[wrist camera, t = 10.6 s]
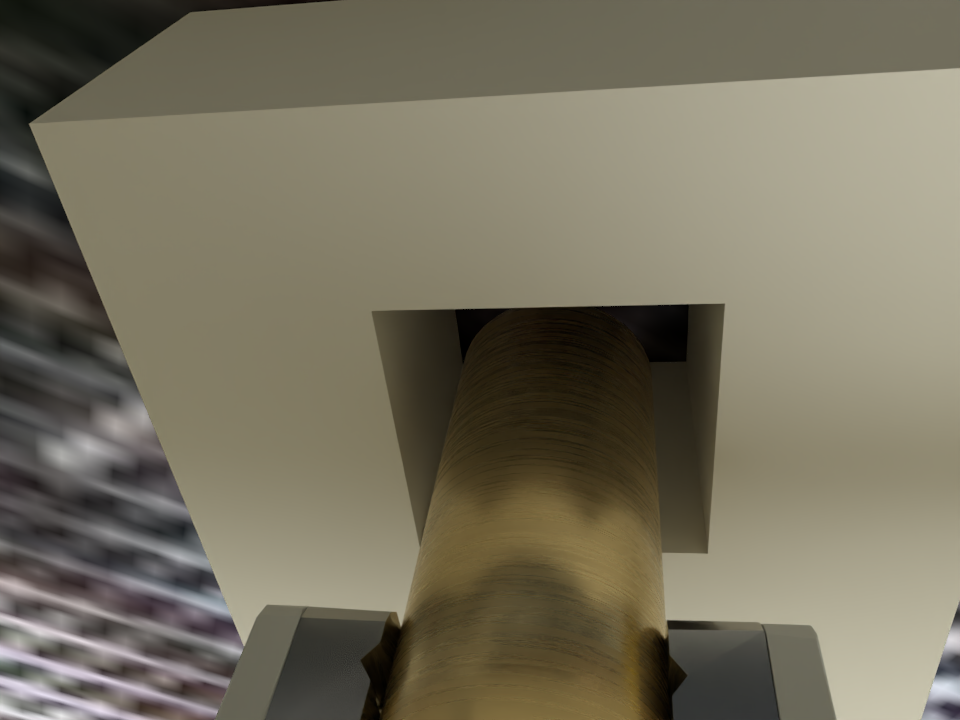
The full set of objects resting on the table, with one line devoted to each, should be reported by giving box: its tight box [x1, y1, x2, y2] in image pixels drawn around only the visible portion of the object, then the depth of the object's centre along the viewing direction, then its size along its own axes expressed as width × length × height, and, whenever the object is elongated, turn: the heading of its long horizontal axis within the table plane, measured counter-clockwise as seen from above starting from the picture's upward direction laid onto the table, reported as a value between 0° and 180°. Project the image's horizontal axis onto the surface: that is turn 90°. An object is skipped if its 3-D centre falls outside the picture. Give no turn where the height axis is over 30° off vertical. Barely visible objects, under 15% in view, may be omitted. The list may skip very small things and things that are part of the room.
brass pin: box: [379, 306, 671, 720], centre depth 10 cm, size 3×3×10 cm
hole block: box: [29, 0, 960, 720], centre depth 18 cm, size 22×12×5 cm, turn 6°
